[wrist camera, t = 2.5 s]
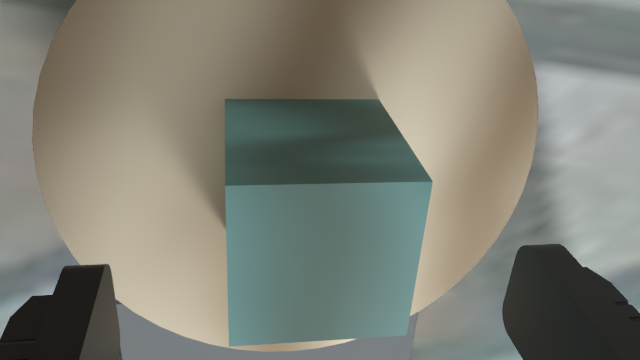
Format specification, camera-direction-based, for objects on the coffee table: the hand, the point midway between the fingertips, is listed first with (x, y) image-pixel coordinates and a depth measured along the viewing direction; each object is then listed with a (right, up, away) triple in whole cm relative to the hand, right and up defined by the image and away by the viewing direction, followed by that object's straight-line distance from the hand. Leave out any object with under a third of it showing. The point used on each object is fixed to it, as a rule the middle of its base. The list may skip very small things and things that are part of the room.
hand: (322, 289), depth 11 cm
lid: (-1, +3, +5) cm, 6 cm away
